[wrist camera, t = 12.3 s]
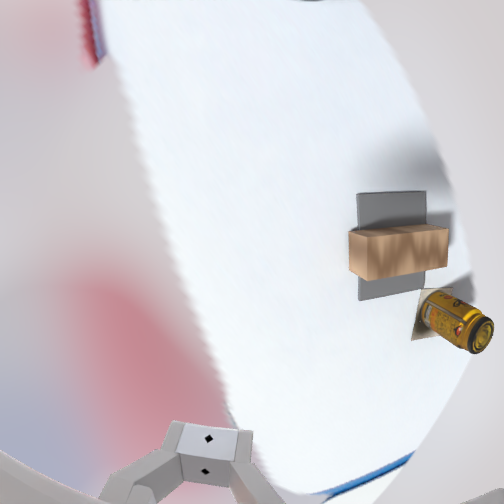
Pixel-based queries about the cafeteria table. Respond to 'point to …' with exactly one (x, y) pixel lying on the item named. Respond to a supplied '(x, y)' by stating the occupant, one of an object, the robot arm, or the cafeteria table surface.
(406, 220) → the mat
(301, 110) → the cafeteria table surface
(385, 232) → the block
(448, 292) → the condiment
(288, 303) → the cafeteria table surface
